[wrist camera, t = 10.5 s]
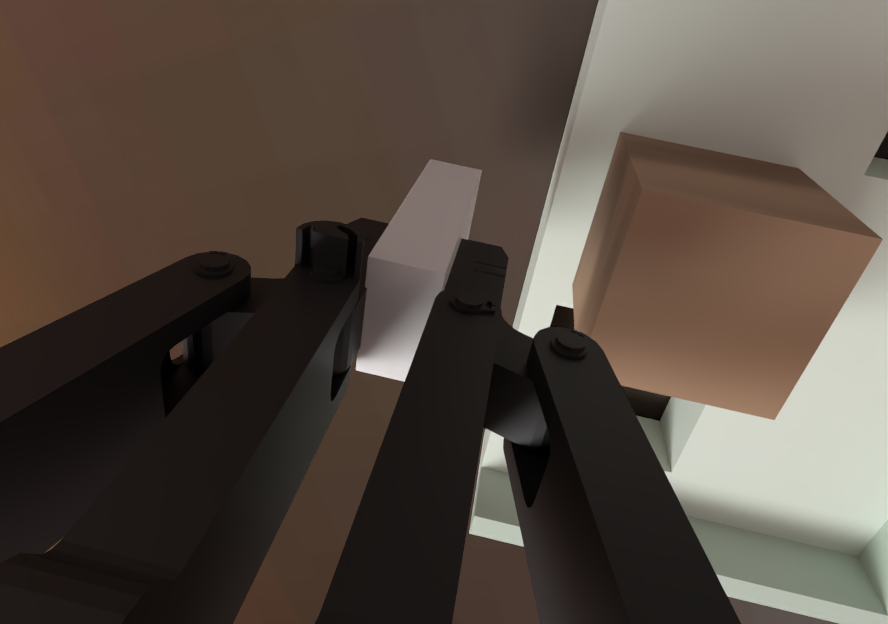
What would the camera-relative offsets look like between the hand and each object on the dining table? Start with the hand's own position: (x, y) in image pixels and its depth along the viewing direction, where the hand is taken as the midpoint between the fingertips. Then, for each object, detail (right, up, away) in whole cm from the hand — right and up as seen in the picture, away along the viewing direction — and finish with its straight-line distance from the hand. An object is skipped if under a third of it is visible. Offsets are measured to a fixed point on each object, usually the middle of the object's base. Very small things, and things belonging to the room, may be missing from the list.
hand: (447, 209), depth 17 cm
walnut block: (+7, -1, +1) cm, 7 cm away
